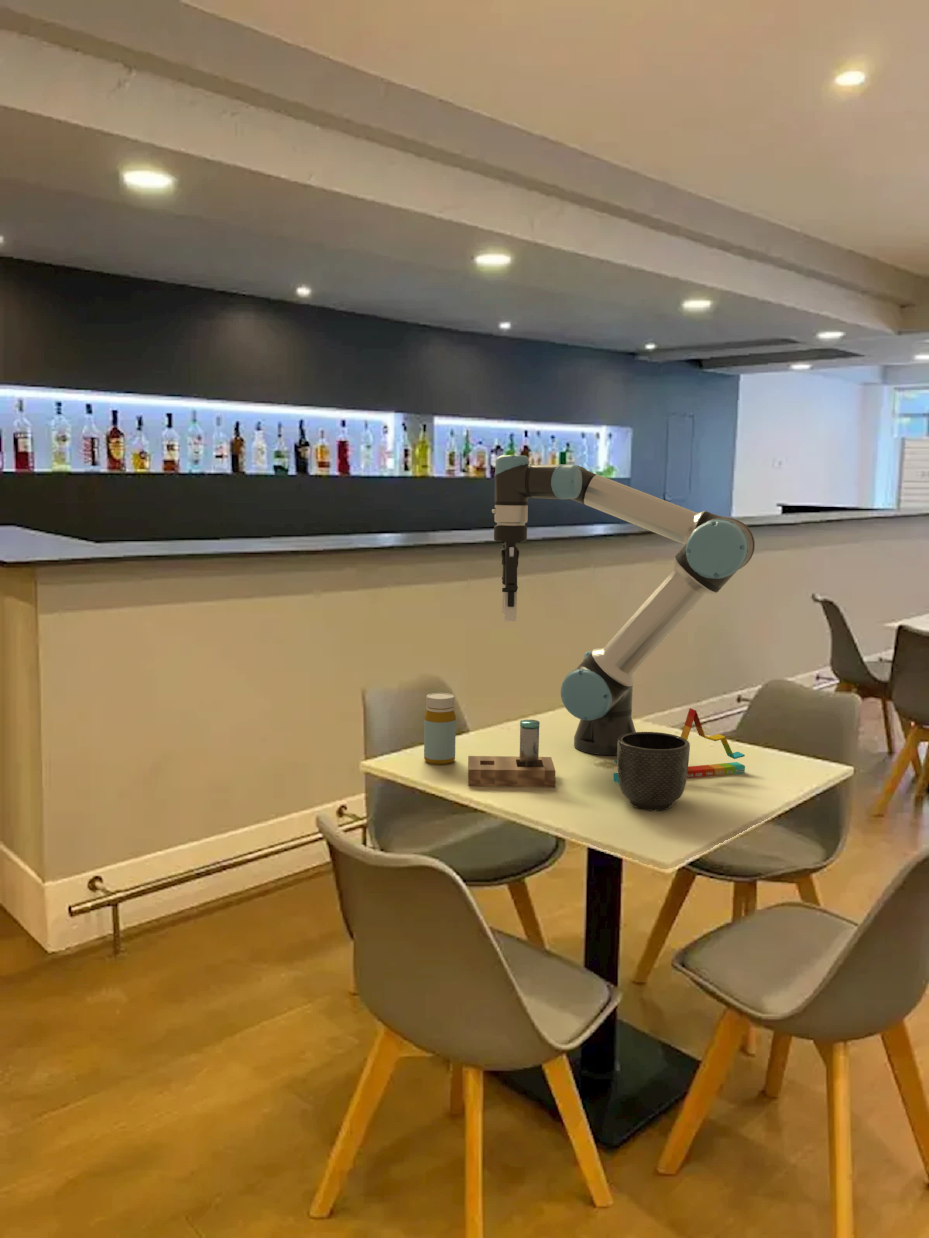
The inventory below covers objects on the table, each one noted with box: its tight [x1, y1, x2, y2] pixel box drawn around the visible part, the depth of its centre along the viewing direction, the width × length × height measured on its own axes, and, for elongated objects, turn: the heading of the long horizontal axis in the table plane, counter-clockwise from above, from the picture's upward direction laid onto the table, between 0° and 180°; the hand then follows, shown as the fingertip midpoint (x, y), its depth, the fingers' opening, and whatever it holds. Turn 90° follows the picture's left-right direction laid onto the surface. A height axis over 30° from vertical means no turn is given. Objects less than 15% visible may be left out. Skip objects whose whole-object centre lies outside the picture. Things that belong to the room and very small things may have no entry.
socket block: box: [467, 755, 556, 788], centre depth 207 cm, size 18×10×4 cm, turn 90°
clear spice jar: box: [519, 719, 541, 767], centre depth 206 cm, size 4×4×12 cm
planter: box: [616, 731, 691, 811], centre depth 192 cm, size 14×14×13 cm
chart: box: [612, 707, 746, 784], centre depth 210 cm, size 30×3×15 cm, turn 108°
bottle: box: [423, 692, 457, 766], centre depth 219 cm, size 7×7×15 cm
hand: (508, 616), depth 225 cm, fingers open, 13 cm apart
